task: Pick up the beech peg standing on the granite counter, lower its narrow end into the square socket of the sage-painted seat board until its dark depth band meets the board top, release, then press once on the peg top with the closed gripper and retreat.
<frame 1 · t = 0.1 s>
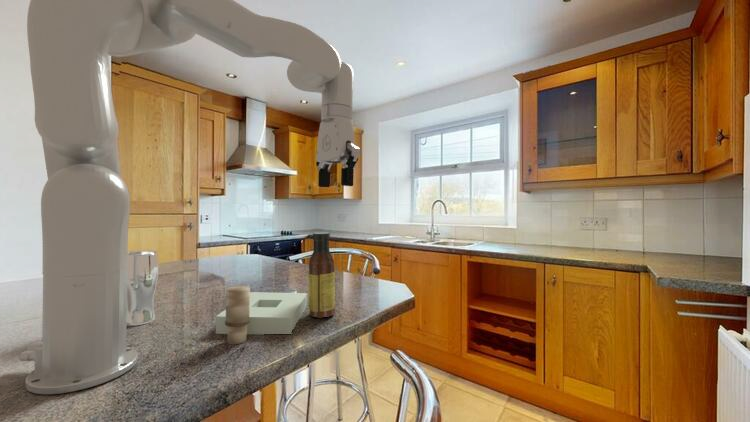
hand: (335, 186, 78), 31 cm above the breakfast bar, tool pointing down, fingers open, 9 cm apart
sauce bottle: (321, 315, 77), on the breakfast bar
seat board: (267, 318, 73), on the breakfast bar
beer glass: (138, 322, 69), on the breakfast bar
peg: (237, 340, 61), on the breakfast bar
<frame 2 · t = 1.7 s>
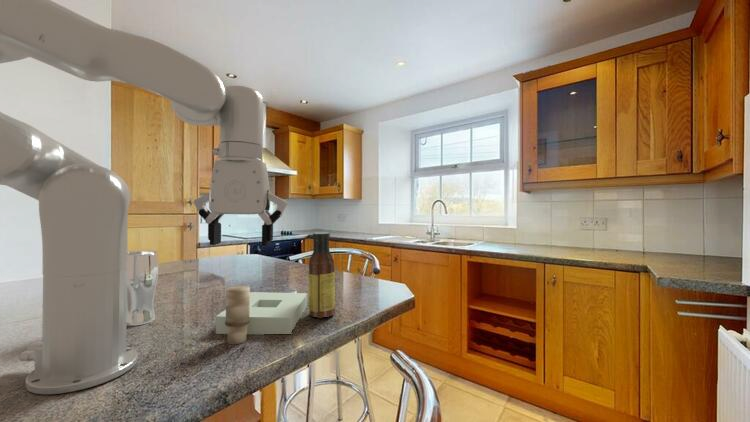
hand: (240, 244, 61), 18 cm above the breakfast bar, tool pointing down, fingers open, 9 cm apart
nothing on the breakfast bar moved.
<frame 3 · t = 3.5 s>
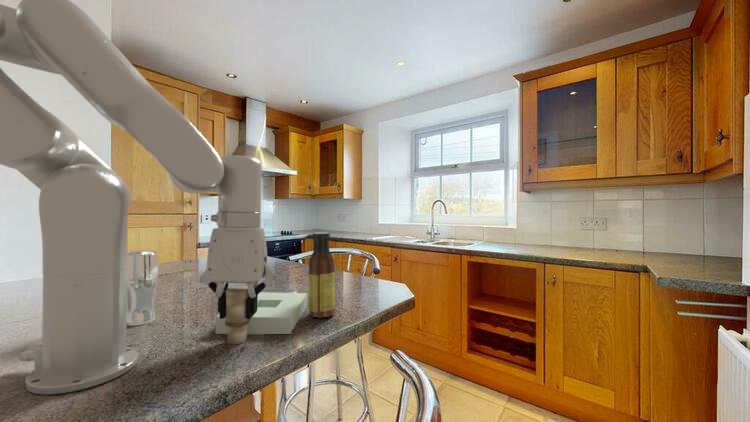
hand: (237, 315, 61), 5 cm above the breakfast bar, tool pointing down, fingers closed on peg, 4 cm apart
peg: (237, 340, 61), on the breakfast bar, touching gripper
everything else where it was.
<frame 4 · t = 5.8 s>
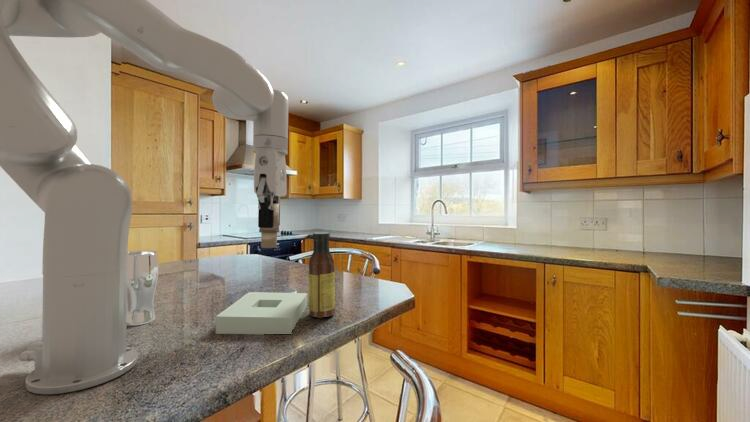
hand: (269, 226, 73), 21 cm above the breakfast bar, tool pointing down, fingers closed on peg, 4 cm apart
peg: (269, 247, 73), point 17 cm above the breakfast bar, touching gripper
everything else where it was.
when the fingers open (6 cm above the breakfast bar, at t = 8.0 s): peg stays where it is, resting in seat board.
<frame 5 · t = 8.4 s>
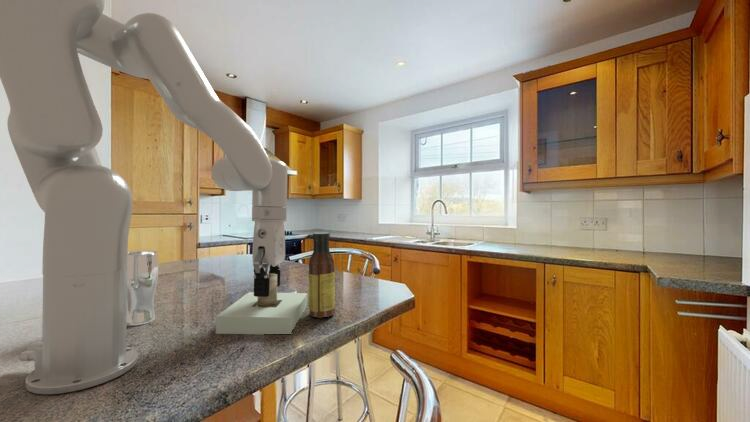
hand: (267, 290, 73), 6 cm above the breakfast bar, tool pointing down, fingers open, 8 cm apart
peg: (266, 318, 73), resting in seat board
everything else where it was.
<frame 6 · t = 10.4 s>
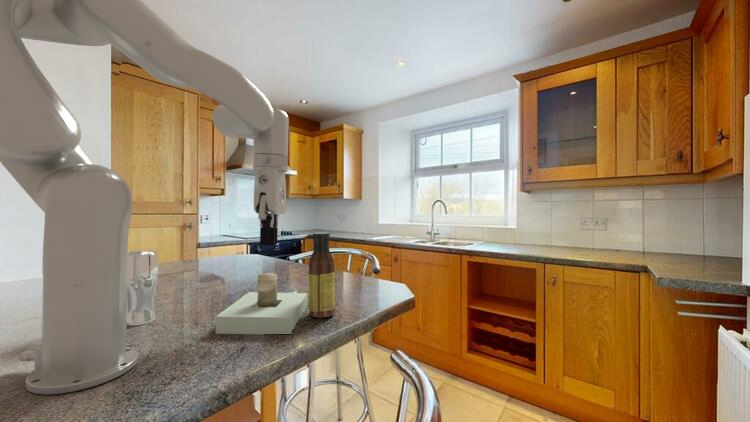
hand: (268, 244, 73), 17 cm above the breakfast bar, tool pointing down, fingers closed
nothing on the breakfast bar moved.
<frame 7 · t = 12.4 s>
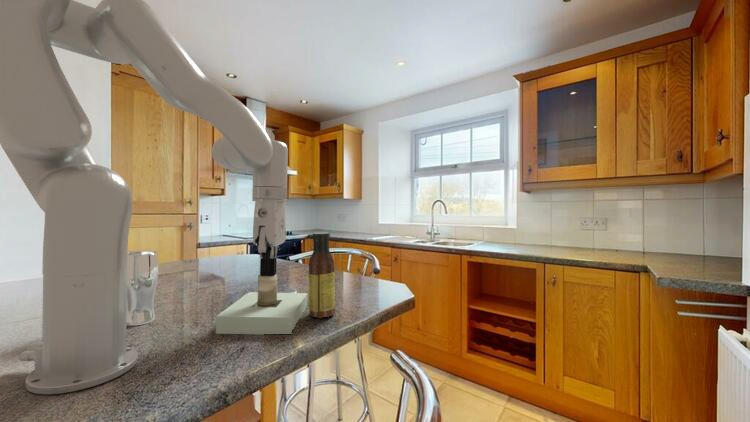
hand: (268, 275, 73), 10 cm above the breakfast bar, tool pointing down, fingers closed
peg: (266, 318, 73), resting in seat board, touching gripper
everything else where it was.
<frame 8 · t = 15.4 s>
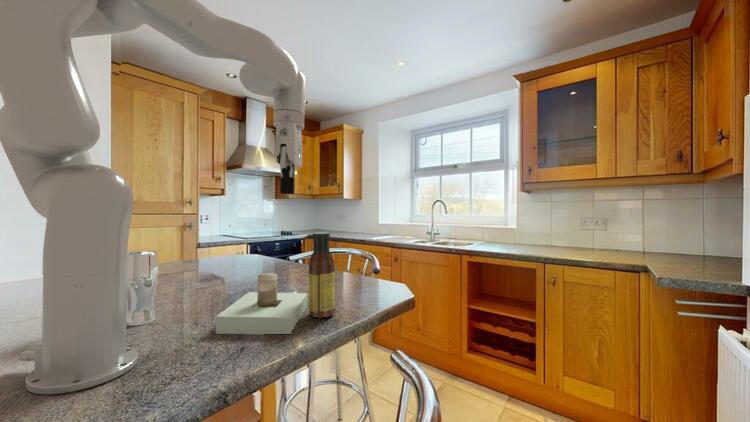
hand: (287, 193, 81), 29 cm above the breakfast bar, tool pointing down, fingers closed
peg: (266, 318, 73), resting in seat board
everything else where it was.
at the end: peg 0.1 cm off-centre on the seat board, point 0.0 cm above the seat board's base; peg tilted 0°; the gripper is holding nothing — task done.
